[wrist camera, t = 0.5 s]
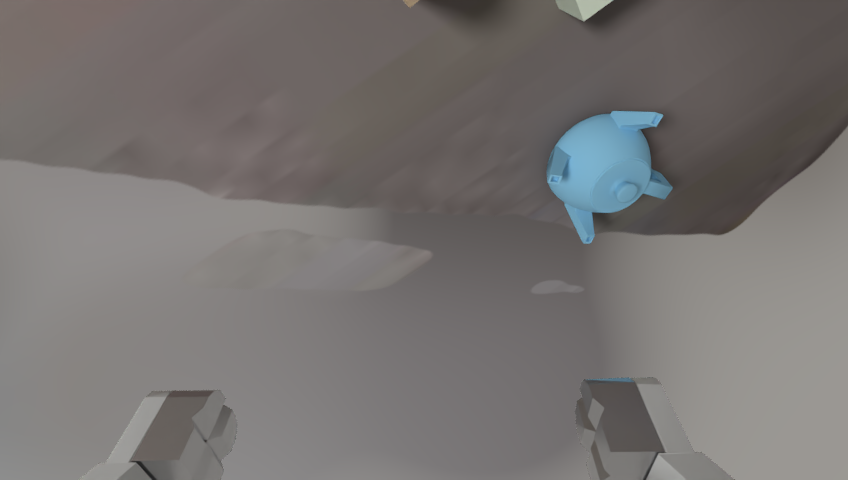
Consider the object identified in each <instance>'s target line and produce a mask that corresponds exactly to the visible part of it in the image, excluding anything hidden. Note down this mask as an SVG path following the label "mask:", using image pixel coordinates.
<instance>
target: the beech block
mask: <svg viewBox="0 0 848 480" xmlns="http://www.w3.org/2000/svg"><path fill="white" fill-rule="evenodd" d="M403 1H404V2H405V3H406V4H407V6H408V7H409V8H410V7H411V6H413V5H414V4H415V3H416V2H418V1H419V0H403Z"/></svg>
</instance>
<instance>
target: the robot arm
mask: <svg viewBox="0 0 848 480" xmlns="http://www.w3.org/2000/svg"><path fill="white" fill-rule="evenodd" d="M580 392H581V395H582V398H581V399H579V400H578V401H577V404H576V410H575V414H576V427H577V432H578V436H579V440H580V444H581V445H582V446H583V447H584V448H585V449H586V450H587V451H588V452H589V457H588V460H587V464H586V466H587V469H588V473H589V476H590V480H735V479H733V478H732V477H731V476H730V475H728V474H727V473H726V472H725V471H724V470H723V469H721V468H720V467H719V466H718V465H717V464H715V463H714V462H713V461H711V459H710V458H708V457H707V456H706V455H705V454H703V453H702V452H694V450H693V448H692V446H691V444H690V442H689V440H688V438H687V436H686V434H685V432H684V430H683V428H682V426H681V424H680V422H679V419H678V417H677V416H676V413H675V411H674V409H673V407H672V405H671V403H670V401H669V399H668V397H667V395H666V393H665V391H664V389H663V387H662V385H661V383H660V382H659V381H658V380H657V379H656V378H653V377H648V378H609V379H589V380H588V379H587V380H583V381H582V382H581V387H580ZM225 399H226V398H225V396H224V395H223V393H222V392H221V391H220V390H194V391H176V390H175V391H152V392H151V393H150V394H149V395H148V396H146V397H145V398H144V400H143V401H142V403H141V405H140V406H139V408H138V410H137V411H136V413H135V415H134V417H133V418H132V420H131V422H130V423H129V425H128V426H127V428H126V430H125V431H124V433H123V435H122V436H121V438H120V440H119V441H118V443H117V445H116V446H115V448H114V450H113V452H112V453H111V455H110V456H109V458H108V460H107V461H106V463H98V464H97V465H96V466H95V467H94V468H92V469H91V470H90V471H89V472H87V473H86V474H85V475H84V476H82V477H81V478H80V479H79V480H221V477H222V474H223V472H224V469H223V466H222V463H221V460H222V459H223V458H224V457H225V456H226V455H228V454H229V453H230V452H231V450H232V447H233V445H234V442H235V439H236V432H237V420H236V416H235V414H234V412H233V410H232V409H230V408H228V407H227V406H225V405H223V404H224V402H225Z"/></svg>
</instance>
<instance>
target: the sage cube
mask: <svg viewBox="0 0 848 480" xmlns="http://www.w3.org/2000/svg"><path fill="white" fill-rule="evenodd" d="M611 1H613V0H556V3H557V5H558V8H559V9H561V10H563V11H564V12H566V13H568V14H570V15H572V16H574V17H576V18H578V19H580V20H582V21H585V20H587V19H588V18H589V17H591V16H592V15H593V14H595V13H596V12H598V11H599V10H600V9H602V8H603V7H605V6H606V5H607V4H609V3H610V2H611Z"/></svg>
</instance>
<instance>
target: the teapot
mask: <svg viewBox="0 0 848 480" xmlns="http://www.w3.org/2000/svg"><path fill="white" fill-rule="evenodd" d="M662 117H663V114H660V113H656V112H636V111H612V112H611V114H600V115H596V116H592V117H590V118H587V119H585V120H583V121H581V122H579V123H577V124H576V125H574V126H573V127H572V128H570V129H569V130H568V131H567V132H566V133H565V134H564V135H563V136H562V137H561V138H560V140H559V141H558V142H557V144H556V145H555V147H554V149H553V151H552V153H551V155H550V158H549V161H548V165H547V182H548V184H549V186H550V188H551V190H552V191H553V192H554V194H555V195H556V196H557V197H558V198H559V199H561V200H562V201H563V202H565V204H564V205H565V207H566V209H567V211H568V213H569V215H570V217H571V220H572V222H573V224H574V226H575V228H576V230H577V232H578V234H579V236H580V238H581V240H582V242H583V243H586V244H587V243H591V242H592V240H593V238H594V236H595V235H594V227H593V217H592V212H597V213H612V212H616V211H620V210H622V209H624V208H626V207H628V206H630V205H631V204H632V203H634V202H635V201H636V200H637V199H638V198H639V197H640V196H641V195H642V194H647V195H650V196H654V197H657V198H661V199H664V200H665V198H666V197H667V196H668V194H669V193H670V192H671V190H672V189H673V187H672V186H671V185H670V184H669V182H668V181H667V180H666V179H665V177H664V176H663V175H662V174H661V173H659V172H657V171H655V170H653V169H651V156H650V149H649V146H648V143H647V140H646V138H645V136H644V135H643V133H642V131H641V130H640V129H644V128H649V127H653V126H654V127H657V125H658V123H659V122H660V120H661V118H662Z"/></svg>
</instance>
